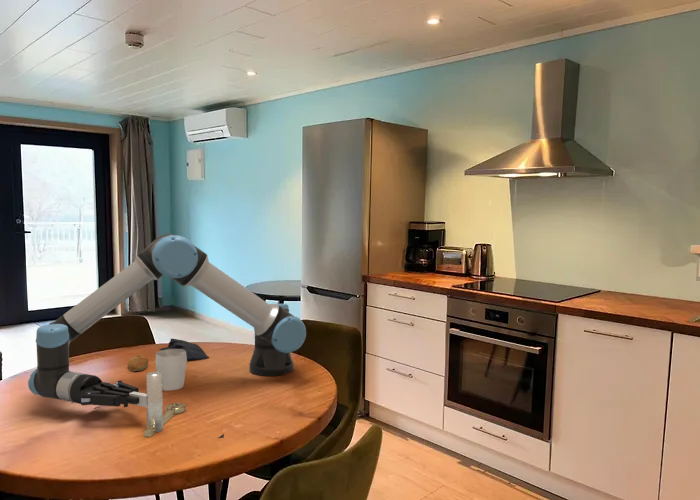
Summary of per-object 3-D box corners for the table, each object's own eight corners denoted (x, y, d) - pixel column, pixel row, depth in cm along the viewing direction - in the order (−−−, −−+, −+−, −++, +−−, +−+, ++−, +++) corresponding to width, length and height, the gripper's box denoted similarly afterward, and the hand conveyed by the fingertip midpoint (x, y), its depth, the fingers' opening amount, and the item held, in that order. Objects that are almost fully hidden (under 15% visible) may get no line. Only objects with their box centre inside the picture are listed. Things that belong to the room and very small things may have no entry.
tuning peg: (170, 407, 140) (169, 356, 139) (188, 407, 140) (187, 357, 139) (137, 436, 122) (136, 378, 121) (157, 437, 122) (156, 379, 121)
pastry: (148, 371, 176) (148, 360, 176) (126, 373, 174) (126, 362, 173) (148, 364, 185) (148, 353, 185) (127, 366, 182) (127, 355, 182)
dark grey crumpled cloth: (169, 365, 184) (169, 352, 184) (158, 351, 203) (158, 339, 203) (212, 360, 192) (212, 347, 192) (197, 346, 211) (197, 335, 211)
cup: (177, 397, 152) (176, 357, 151) (149, 395, 153) (149, 355, 152) (192, 387, 160) (192, 349, 159) (166, 385, 162) (165, 347, 161)
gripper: (100, 394, 142) (170, 407, 133) (59, 410, 130) (132, 426, 121) (100, 367, 141) (169, 378, 133) (58, 381, 129) (131, 395, 121)
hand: (151, 401), depth 127 cm, fingers closed
